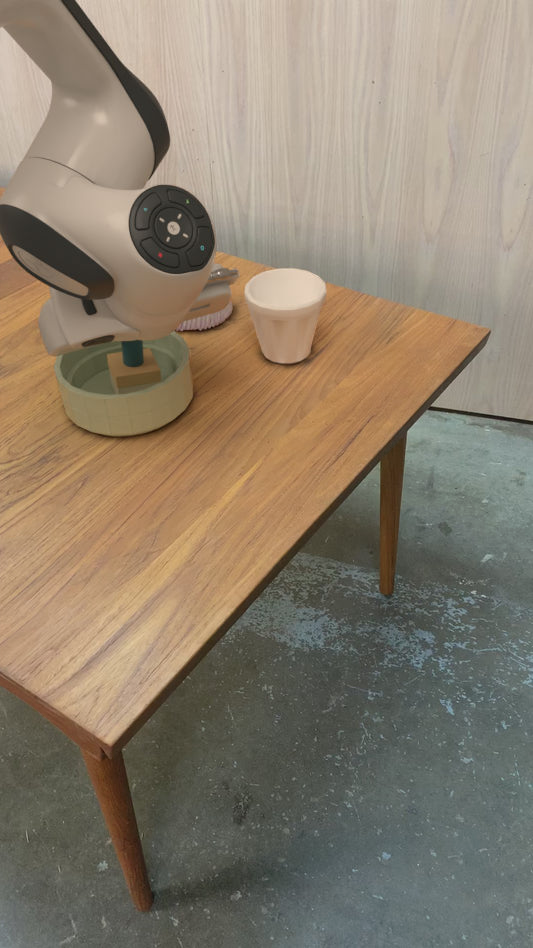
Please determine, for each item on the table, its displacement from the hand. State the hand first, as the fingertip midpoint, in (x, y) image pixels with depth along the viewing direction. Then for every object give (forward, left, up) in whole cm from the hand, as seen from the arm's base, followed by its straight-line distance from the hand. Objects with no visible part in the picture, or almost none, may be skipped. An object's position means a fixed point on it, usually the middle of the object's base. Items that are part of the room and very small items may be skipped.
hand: (129, 330), depth 89 cm
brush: (-1, -1, -8) cm, 8 cm away
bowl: (-2, -1, -9) cm, 9 cm away
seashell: (+11, +15, -9) cm, 21 cm away
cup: (+19, +1, -9) cm, 21 cm away
